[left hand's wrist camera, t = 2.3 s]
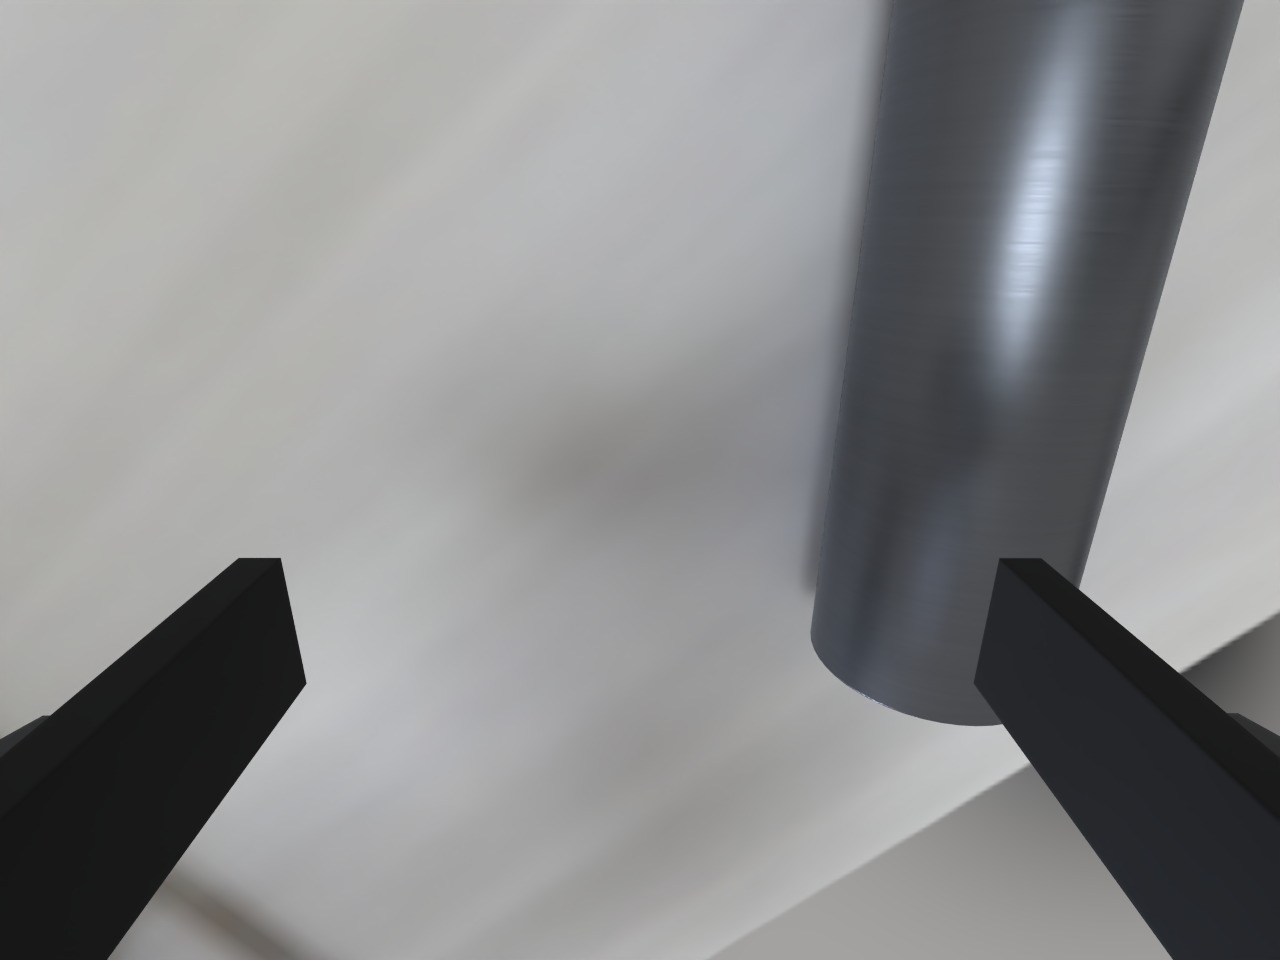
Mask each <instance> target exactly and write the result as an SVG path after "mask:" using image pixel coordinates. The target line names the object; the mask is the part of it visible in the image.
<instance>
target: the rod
mask: <svg viewBox="0 0 1280 960" xmlns="http://www.w3.org/2000/svg"><path fill="white" fill-rule="evenodd" d="M1243 3H1244V0H893V8H892V15H891V23H890V31H889V38H888V46H887V54H886V61H885V69H884V76H883V84H882V92H881V99H880V107H879V114H878V122H877V130H876V137H875V145H874V153H873V160H872V168H871V175H870V183H869V191H868V198H867V206H866V213H865V221H864V229H863V236H862V244H861V252H860V259H859V267H858V274H857V282H856V290H855V297H854V305H853V312H852V320H851V328H850V335H849V343H848V351H847V358H846V366H845V373H844V381H843V389H842V396H841V404H840V411H839V419H838V427H837V434H836V442H835V450H834V457H833V465H832V472H831V480H830V488H829V495H828V503H827V510H826V518H825V526H824V533H823V541H822V549H821V556H820V564H819V571H818V579H817V587H816V594H815V602H814V609H813V617H812V625H811V641H812V644H813V647H814V650H815V652H816V653H817V655H818V657H819V659H820V660H821V661H822V662H823V664H824V665H825V666H826V667H827V668H828V669H829V670H830V671H831V672H832V673H833V674H834V675H835V676H836V677H837V678H838V679H840V680H841V681H842V682H843V683H845V684H846V685H847V686H849V687H851V688H852V689H854V690H855V691H857V692H858V693H860V694H862V695H864V696H865V697H867V698H869V699H871V700H873V701H875V702H877V703H879V704H882V705H884V706H886V707H888V708H891V709H894V710H896V711H899V712H902V713H905V714H908V715H911V716H915V717H918V718H922V719H926V720H931V721H935V722H940V723H947V724H954V725H965V726H993V725H1000V724H1002V722H1001V721H1000V720H999V718H998V717H997V715H996V714H995V713H994V711H993V710H992V709H991V707H990V706H989V704H988V703H987V702H986V700H985V699H984V697H983V696H982V695H981V693H980V692H979V691H978V689H977V688H976V686H975V685H974V684H973V683H974V678H975V674H976V669H977V664H978V659H979V654H980V649H981V644H982V640H983V635H984V630H985V625H986V620H987V615H988V610H989V606H990V601H991V596H992V591H993V586H994V581H995V576H996V572H997V567H998V562H999V558H1042V559H1043V560H1044V561H1045V562H1047V563H1048V564H1049V565H1050V566H1051V567H1053V568H1054V569H1055V570H1056V571H1057V572H1059V573H1060V574H1061V575H1062V576H1063V577H1064V578H1066V579H1067V580H1068V581H1069V582H1070V583H1072V584H1073V585H1074V586H1075V587H1076V588H1078V589H1079V587H1080V583H1081V579H1082V576H1083V572H1084V569H1085V565H1086V562H1087V558H1088V554H1089V551H1090V547H1091V544H1092V540H1093V537H1094V533H1095V530H1096V526H1097V522H1098V519H1099V515H1100V512H1101V508H1102V505H1103V501H1104V498H1105V494H1106V490H1107V487H1108V483H1109V480H1110V476H1111V473H1112V469H1113V465H1114V462H1115V458H1116V455H1117V451H1118V448H1119V444H1120V441H1121V437H1122V433H1123V430H1124V426H1125V423H1126V419H1127V416H1128V412H1129V409H1130V405H1131V401H1132V398H1133V394H1134V391H1135V387H1136V384H1137V380H1138V376H1139V373H1140V369H1141V366H1142V362H1143V359H1144V355H1145V352H1146V348H1147V344H1148V341H1149V337H1150V334H1151V330H1152V327H1153V323H1154V319H1155V316H1156V312H1157V309H1158V305H1159V302H1160V298H1161V295H1162V291H1163V287H1164V284H1165V280H1166V277H1167V273H1168V270H1169V266H1170V263H1171V259H1172V255H1173V252H1174V248H1175V245H1176V241H1177V238H1178V234H1179V230H1180V227H1181V223H1182V220H1183V216H1184V213H1185V209H1186V206H1187V202H1188V198H1189V195H1190V191H1191V188H1192V184H1193V181H1194V177H1195V174H1196V170H1197V166H1198V163H1199V159H1200V156H1201V152H1202V149H1203V145H1204V141H1205V138H1206V134H1207V131H1208V127H1209V124H1210V120H1211V117H1212V113H1213V109H1214V106H1215V102H1216V99H1217V95H1218V92H1219V88H1220V84H1221V81H1222V77H1223V74H1224V70H1225V67H1226V63H1227V60H1228V56H1229V52H1230V49H1231V45H1232V42H1233V38H1234V35H1235V31H1236V28H1237V24H1238V20H1239V17H1240V13H1241V10H1242V6H1243Z"/></svg>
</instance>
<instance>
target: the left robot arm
mask: <svg viewBox="0 0 1280 960" xmlns="http://www.w3.org/2000/svg"><path fill="white" fill-rule="evenodd" d="M306 684H307V683H306V678H305V674H304V669H303V664H302V659H301V654H300V649H299V644H298V640H297V635H296V630H295V625H294V620H293V615H292V610H291V606H290V601H289V596H288V591H287V586H286V581H285V576H284V572H283V567H282V562H281V558H238V559H237V560H236V561H235V562H233V563H232V564H231V565H230V566H229V567H227V568H226V569H225V570H224V571H223V572H221V573H220V574H219V575H218V576H217V577H216V578H214V579H213V580H212V581H211V582H210V583H208V584H207V585H206V586H205V587H204V588H202V589H201V590H200V591H199V592H198V593H196V594H195V595H194V596H193V597H192V598H190V599H189V600H188V601H187V602H186V603H184V604H183V605H182V606H181V607H180V608H178V609H177V610H176V611H175V612H174V613H172V614H171V615H170V616H169V617H168V618H166V619H165V620H164V621H163V622H162V623H161V624H159V625H158V626H157V627H156V628H155V629H153V630H152V631H151V632H150V633H149V634H147V635H146V636H145V637H144V638H143V639H141V640H140V641H139V642H138V643H137V644H135V645H134V646H133V647H132V648H131V649H129V650H128V651H127V652H126V653H125V654H123V655H122V656H121V657H120V658H119V659H117V660H116V661H115V662H114V663H113V664H112V665H110V666H109V667H108V668H107V669H106V670H104V671H103V672H102V673H101V674H100V675H98V676H97V677H96V678H95V679H94V680H92V681H91V682H90V683H89V684H88V685H86V686H85V687H84V688H83V689H82V690H80V691H79V692H78V693H77V694H76V695H74V696H73V697H72V698H71V699H70V700H68V701H67V702H66V703H65V704H64V705H63V706H61V707H60V708H59V709H58V710H57V711H55V712H54V713H53V714H52V715H51V716H41V717H40V718H38V719H36V720H34V721H32V722H31V723H29V724H27V725H25V726H23V727H22V728H20V729H18V730H16V731H14V732H13V733H11V734H9V735H7V736H5V737H4V738H2V739H0V960H107V959H108V957H109V956H110V955H111V953H112V952H113V951H114V949H115V948H116V946H117V945H118V944H119V942H120V941H121V940H122V938H123V937H124V935H125V934H126V933H127V931H128V930H129V928H130V927H131V926H132V924H133V923H134V922H135V920H136V919H137V917H138V916H139V915H140V913H141V912H142V910H143V909H144V908H145V906H146V905H147V904H148V902H149V901H150V899H151V898H152V897H153V895H154V894H155V892H156V891H157V890H158V888H159V887H160V886H161V884H162V883H163V881H164V880H165V879H166V877H167V876H168V874H169V873H170V872H171V870H172V869H173V868H174V866H175V865H176V863H177V862H178V861H179V859H180V858H181V857H182V855H183V854H184V852H185V851H186V850H187V848H188V847H189V845H190V844H191V843H192V841H193V840H194V839H195V837H196V836H197V834H198V833H199V832H200V830H201V829H202V827H203V826H204V825H205V823H206V822H207V821H208V819H209V818H210V816H211V815H212V814H213V812H214V811H215V809H216V808H217V807H218V805H219V804H220V803H221V801H222V800H223V798H224V797H225V796H226V794H227V793H228V792H229V790H230V789H231V787H232V786H233V785H234V783H235V782H236V780H237V779H238V778H239V776H240V775H241V774H242V772H243V771H244V769H245V768H246V767H247V765H248V764H249V762H250V761H251V760H252V758H253V757H254V756H255V754H256V753H257V751H258V750H259V749H260V747H261V746H262V744H263V743H264V742H265V740H266V739H267V738H268V736H269V735H270V733H271V732H272V731H273V729H274V728H275V727H276V725H277V724H278V722H279V721H280V720H281V718H282V717H283V715H284V714H285V713H286V711H287V710H288V709H289V707H290V706H291V704H292V703H293V702H294V700H295V699H296V697H297V696H298V695H299V693H300V692H301V691H302V689H303V688H304V686H305V685H306ZM973 684H974V685H975V686H976V688H977V689H978V691H979V692H980V693H981V695H982V696H983V697H984V699H985V700H986V702H987V703H988V704H989V706H990V707H991V709H992V710H993V711H994V713H995V714H996V715H997V717H998V718H999V720H1000V721H1001V722H1002V724H1003V725H1004V727H1005V728H1006V729H1007V731H1008V732H1009V733H1010V735H1011V736H1012V738H1013V739H1014V740H1015V742H1016V743H1017V744H1018V746H1019V747H1020V749H1021V750H1022V751H1023V753H1024V754H1025V756H1026V757H1027V758H1028V760H1029V761H1030V762H1031V764H1032V765H1033V767H1034V768H1035V769H1036V771H1037V772H1038V774H1039V775H1040V776H1041V778H1042V779H1043V780H1044V782H1045V783H1046V785H1047V786H1048V787H1049V789H1050V790H1051V791H1052V793H1053V794H1054V796H1055V797H1056V798H1057V800H1058V801H1059V803H1060V804H1061V805H1062V807H1063V808H1064V809H1065V811H1066V812H1067V813H1068V815H1069V816H1070V818H1071V819H1072V821H1073V822H1074V823H1075V825H1076V826H1077V827H1078V829H1079V830H1080V832H1081V833H1082V834H1083V836H1084V837H1085V839H1086V840H1087V841H1088V843H1089V844H1090V845H1091V847H1092V848H1093V850H1094V851H1095V852H1096V854H1097V855H1098V857H1099V858H1100V859H1101V861H1102V862H1103V863H1104V865H1105V866H1106V868H1107V869H1108V870H1109V872H1110V873H1111V874H1112V876H1113V877H1114V879H1115V880H1116V881H1117V883H1118V884H1119V885H1120V887H1121V888H1122V890H1123V891H1124V892H1125V894H1126V895H1127V897H1128V898H1129V899H1130V901H1131V902H1132V904H1133V905H1134V906H1135V908H1136V909H1137V910H1138V912H1139V913H1140V915H1141V916H1142V917H1143V919H1144V920H1145V921H1146V923H1147V924H1148V926H1149V927H1150V928H1151V930H1152V931H1153V933H1154V934H1155V935H1156V937H1157V938H1158V940H1159V941H1160V942H1161V944H1162V945H1163V946H1164V948H1165V949H1166V951H1167V952H1168V953H1169V955H1170V956H1171V957H1172V959H1173V960H1280V736H1278V735H1276V734H1275V733H1273V732H1271V731H1269V730H1267V729H1266V728H1264V727H1262V726H1260V725H1258V724H1256V723H1255V722H1253V721H1251V720H1249V719H1247V718H1246V717H1244V716H1242V715H1240V714H1238V713H1226V712H1225V711H1223V710H1222V709H1221V708H1220V707H1219V706H1217V705H1216V704H1215V703H1214V702H1213V701H1212V700H1210V699H1209V698H1208V697H1207V696H1206V695H1204V694H1203V693H1202V692H1201V691H1200V690H1198V689H1197V688H1196V687H1195V686H1194V685H1192V684H1191V683H1190V682H1189V681H1188V680H1186V679H1185V678H1184V677H1183V676H1182V675H1180V674H1179V673H1178V672H1177V671H1176V670H1174V669H1173V668H1172V667H1171V666H1170V665H1168V664H1167V663H1166V662H1165V661H1164V660H1163V659H1161V658H1160V657H1159V656H1158V655H1157V654H1155V653H1154V652H1153V651H1152V650H1151V649H1149V648H1148V647H1147V646H1146V645H1145V644H1143V643H1142V642H1141V641H1140V640H1139V639H1137V638H1136V637H1135V636H1134V635H1133V634H1131V633H1130V632H1129V631H1128V630H1127V629H1125V628H1124V627H1123V626H1122V625H1121V624H1119V623H1118V622H1117V621H1116V620H1115V619H1114V618H1112V617H1111V616H1110V615H1109V614H1108V613H1106V612H1105V611H1104V610H1103V609H1102V608H1100V607H1099V606H1098V605H1097V604H1096V603H1094V602H1093V601H1092V600H1091V599H1090V598H1088V597H1087V596H1086V595H1085V594H1084V593H1082V592H1081V591H1080V590H1079V589H1078V588H1076V587H1075V586H1074V585H1073V584H1072V583H1070V582H1069V581H1068V580H1067V579H1066V578H1064V577H1063V576H1062V575H1061V574H1060V573H1059V572H1057V571H1056V570H1055V569H1054V568H1053V567H1051V566H1050V565H1049V564H1048V563H1047V562H1045V561H1044V560H1043V559H1042V558H999V562H998V567H997V572H996V576H995V581H994V586H993V591H992V596H991V601H990V606H989V610H988V615H987V620H986V625H985V630H984V635H983V640H982V644H981V649H980V654H979V659H978V664H977V669H976V674H975V678H974V683H973Z"/></svg>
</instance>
